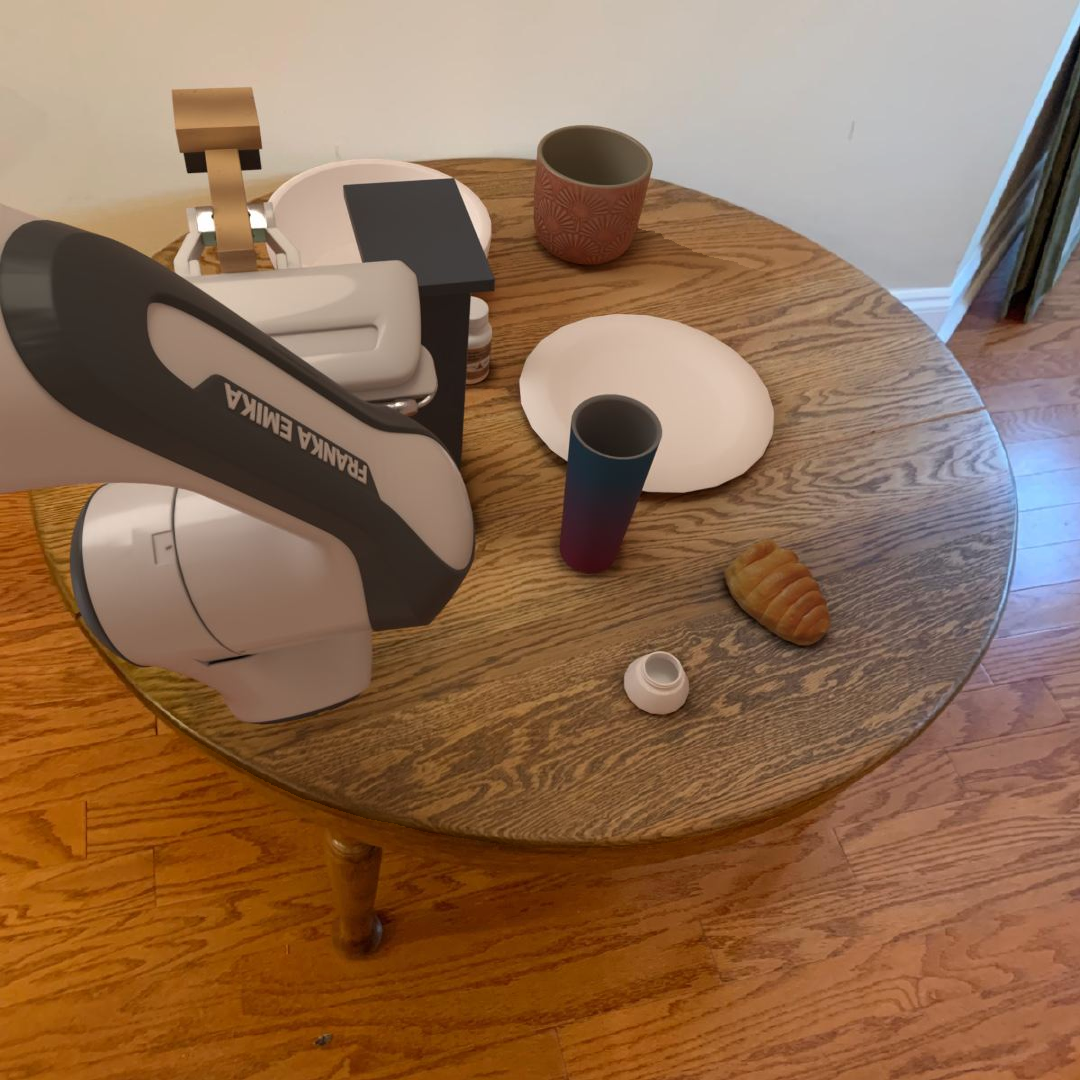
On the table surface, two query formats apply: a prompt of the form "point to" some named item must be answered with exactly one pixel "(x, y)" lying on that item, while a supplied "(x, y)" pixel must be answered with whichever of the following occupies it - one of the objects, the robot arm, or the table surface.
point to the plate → (654, 394)
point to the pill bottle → (478, 342)
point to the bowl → (322, 217)
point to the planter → (589, 192)
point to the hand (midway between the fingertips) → (229, 209)
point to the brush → (222, 161)
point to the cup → (605, 477)
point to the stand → (429, 278)
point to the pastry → (779, 593)
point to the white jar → (656, 683)
